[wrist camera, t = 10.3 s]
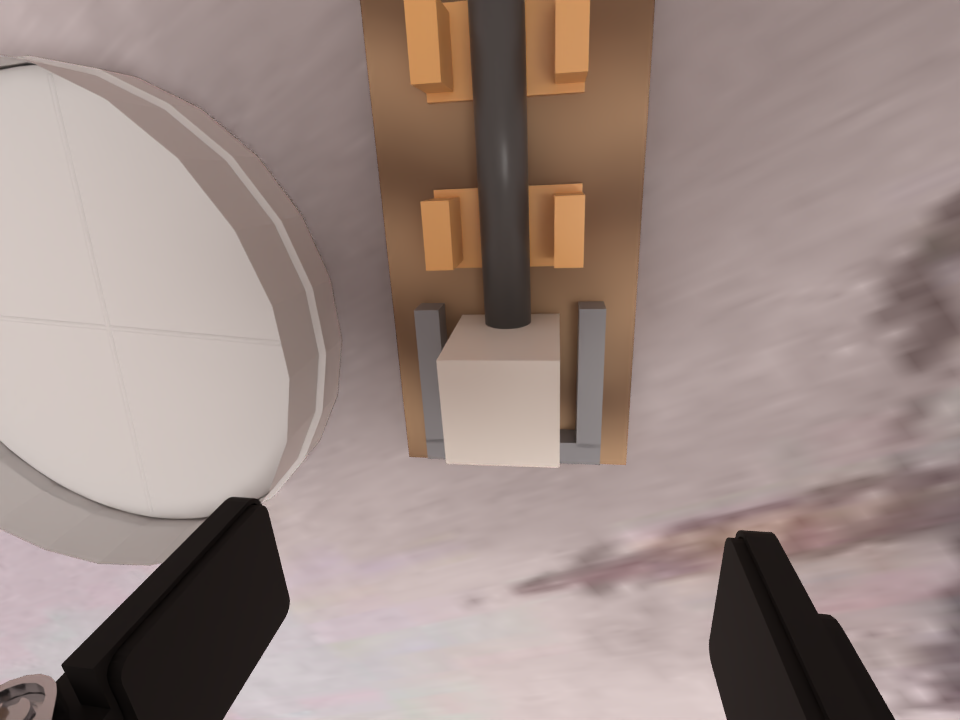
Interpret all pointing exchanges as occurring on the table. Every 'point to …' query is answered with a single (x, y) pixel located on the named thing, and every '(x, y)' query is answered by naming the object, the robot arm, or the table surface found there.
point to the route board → (551, 160)
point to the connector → (501, 276)
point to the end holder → (589, 385)
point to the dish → (146, 317)
